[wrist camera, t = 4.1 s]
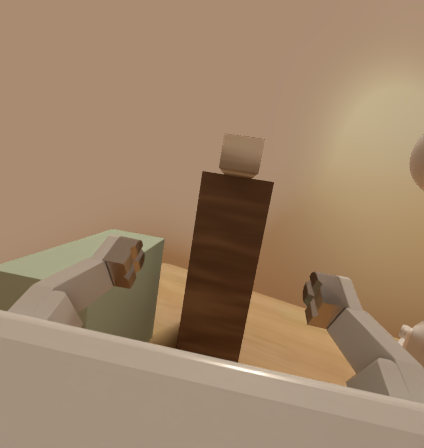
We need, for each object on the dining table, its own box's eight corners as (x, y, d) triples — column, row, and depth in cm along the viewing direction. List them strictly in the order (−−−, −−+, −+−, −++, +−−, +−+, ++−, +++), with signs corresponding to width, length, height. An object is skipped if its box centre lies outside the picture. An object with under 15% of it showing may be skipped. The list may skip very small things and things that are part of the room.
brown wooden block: (233, 384, 29) (273, 182, 24) (173, 370, 29) (202, 171, 25) (234, 321, 42) (260, 185, 38) (193, 313, 43) (214, 178, 39)
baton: (262, 173, 17) (270, 132, 16) (215, 166, 17) (221, 125, 16) (247, 183, 38) (250, 165, 38) (226, 180, 39) (229, 162, 38)
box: (76, 468, 18) (88, 289, 16) (-11, 444, 19) (-13, 268, 16) (152, 336, 35) (164, 238, 32) (104, 325, 36) (112, 229, 33)
